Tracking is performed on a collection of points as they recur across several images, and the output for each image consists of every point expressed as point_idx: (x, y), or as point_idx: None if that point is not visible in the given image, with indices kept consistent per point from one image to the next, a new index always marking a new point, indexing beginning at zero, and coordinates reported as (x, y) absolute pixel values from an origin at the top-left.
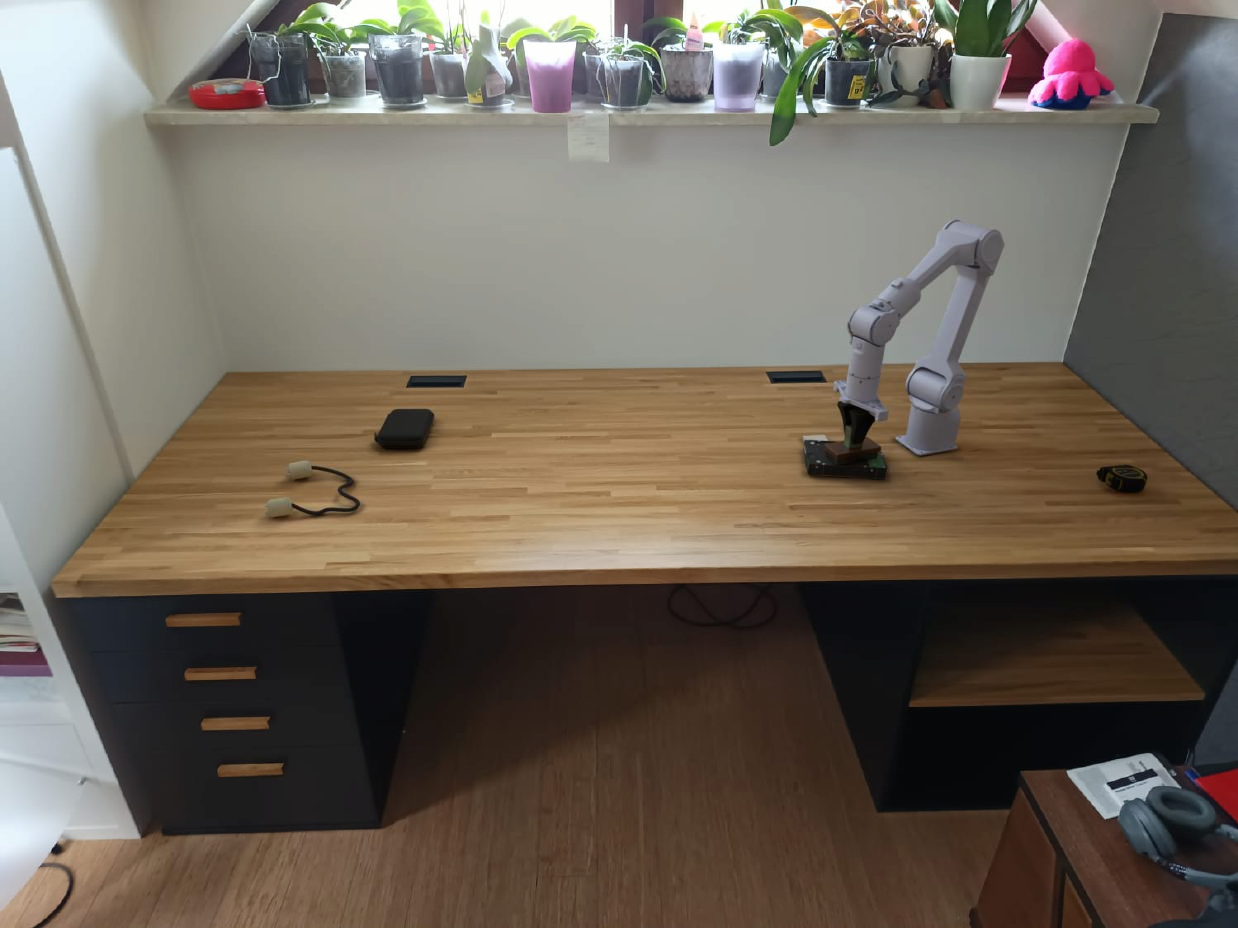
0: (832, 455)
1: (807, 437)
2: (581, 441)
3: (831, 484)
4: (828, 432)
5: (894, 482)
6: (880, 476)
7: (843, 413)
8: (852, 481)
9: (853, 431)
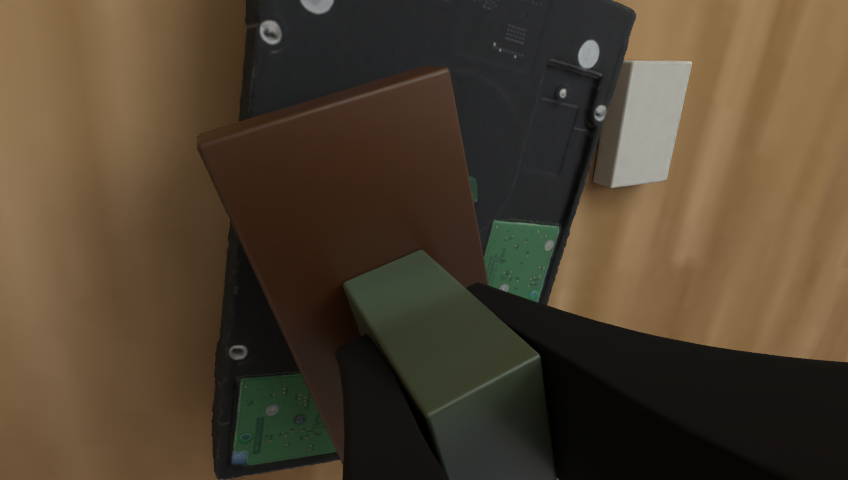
0: (281, 109)
1: (671, 78)
2: None
3: (117, 66)
4: (684, 208)
5: (192, 456)
6: (214, 405)
7: (745, 421)
8: (185, 233)
9: (380, 437)
